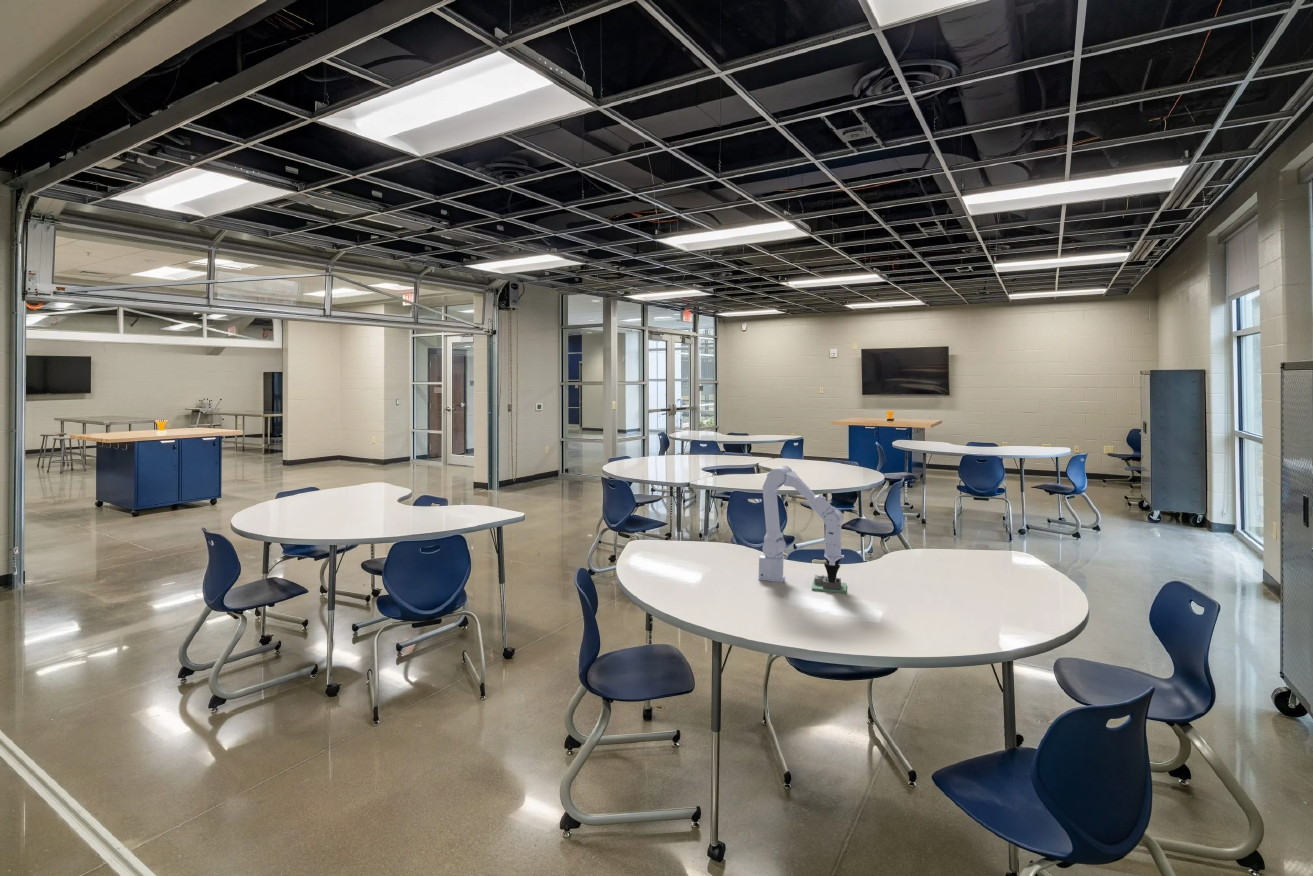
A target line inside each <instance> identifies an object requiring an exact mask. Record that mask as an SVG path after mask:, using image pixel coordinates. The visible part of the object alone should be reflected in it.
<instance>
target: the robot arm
mask: <svg viewBox="0 0 1313 876" xmlns="http://www.w3.org/2000/svg"><path fill="white" fill-rule="evenodd" d="M782 486H784V487H791V488H794V489H795V490H796V491H797V492H798V493H799V495H800V494H801V496H802V497H804V499H806V500H807V501H808V505H809V507H810V508H811V509H812V510H813V512H815V513H816V514H817V515H818V516H819V517H820V518H821V519H822V521H823V524H824V525H825V531H824V532H825V533H824V535H825V536H824V539H825V540H824V555H823V557H824V558H825V562H823V565H824V567H825V570H826V574H827V575H828V581H829V582H831V583H835V580H836V578H837V575H838V574H837V573H838V571H839V570H840V567H841V564H839V563H840V561H841V560H842V559H844V558H845V555H844V554H842V523H843V521H844V518H845V517H844V513H843V512H842V511H841V510H840V509H836V507H835V506H832V505H831V504H830V503H829V502H828V500H827V498H826V497H825V496H822V495H820V494H818V495H817V494H816V493H814V492H813V490H812V489H810V487H809V486H808V485H807V484H806V483H805V482H804V481H803V480H802V479H801V478H800V477H799V476H798V474H797V473H796V471H794V470H793V469H792V467H791V468H790V467H789V466H788V465H781V467H776V468H772V469H771V470H770V471H769V472H768V473H767V474H766V478H765V481H764V482H763V485H762V498H763V511H764V519H765V520H764V521H765V530H766V531H765V535H764V538H763V545H762V548H761V549H762V553H763V554H764V555H763V554H760V556H759V559H758V578H757V580H759V581H766V582H775V583H776V582H777V583H783V582H784V581H785V578H786V575H785V574H784V556H785V555H784V552H785V550H786V548H787V543H786V541H785V538H784V534H783V532H781V526H780V514H779V504H778V502H779V501H778V490H779V489H780V488H781V487H782ZM827 575H826V576H827Z"/></svg>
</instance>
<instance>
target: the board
mask: <svg viewBox="0 0 1313 876" xmlns="http://www.w3.org/2000/svg"><path fill="white" fill-rule="evenodd" d="M811 591H814V592H815V591H817V592H825V593H827V592H829V593H837V594H844V595H845V594H847V582H842V578H841V577H836V582H835V583H831V582H828V581H827V575H824V574H815V575H814V579H813V581H812V586H811Z"/></svg>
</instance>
